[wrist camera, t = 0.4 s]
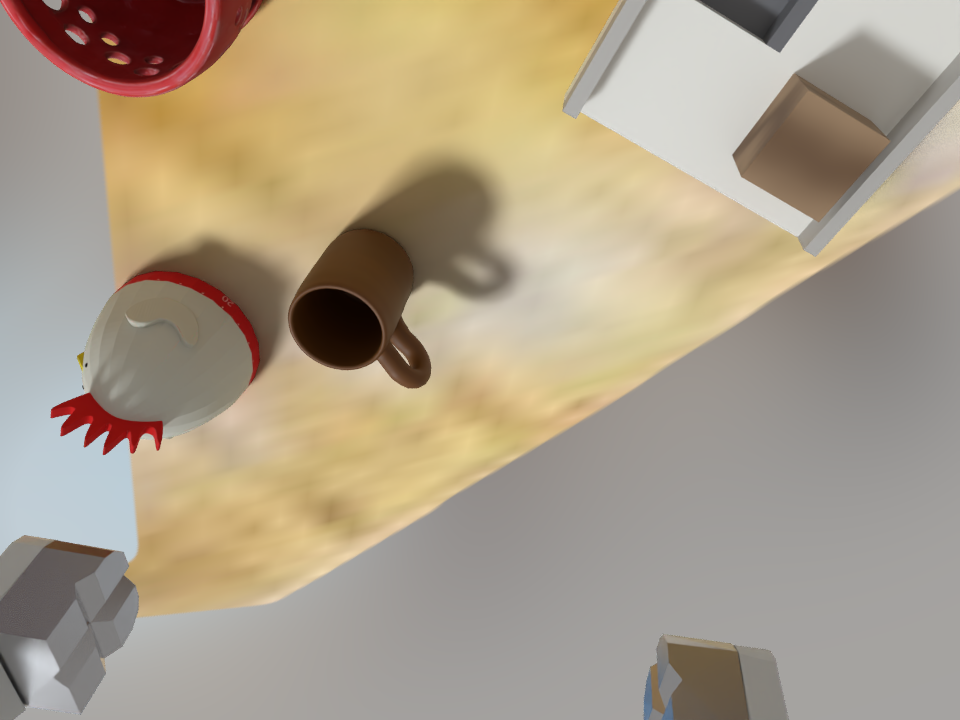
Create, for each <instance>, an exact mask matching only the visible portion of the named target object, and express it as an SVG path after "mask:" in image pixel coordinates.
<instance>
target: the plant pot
mask: <svg viewBox="0 0 960 720" xmlns="http://www.w3.org/2000/svg"><path fill="white" fill-rule="evenodd" d="M61 1H62V4H61V8H60V10H54V9H52V8H50V7H48V6H47V5H46V4H45V3H44V2H43V1H42V0H0V2H1V4H2V6H3V7H4V9H5V10H6V12H7V14H8V15H9V16H10V18H11V20H12V21H13V22H14V24H15V25H16V26H17V28H18V29H19V30H20V31H21V33H22V34H23V35H24V36H25V37H26V39H28V40H29V42H30V43H31V44H32V45H33V46H34V47H35V48H36V49H37V50H38V51H39V52H41V53H42V54H43V55H44V56H45V57H46V58H47V59H49V60H50V61H51V62H52V63H53V64H55V65H56V66H57V67H59V68H60V69H62V70H63V71H64V72H66V73H68V74H69V75H71V76H72V77H74V78H76V79H78V80H80V81H81V82H83V83H85V84H88V85H89V86H92V87H94V88H97V89H99V90H102V91H105V92H108V93H112V94H116V95H120V96H126V97H150V96H156V95H161V94H164V93H168V92H170V91H173V90H175V89H177V88H179V87H181V86H183V85H185V84H186V83H188V82H189V81H191V80H193V79H194V78H196V77H197V76H199V75H200V74H202V73H203V72H204V71H206V70H207V69H208V68H209V67H210V66H212V65H213V64H214V63H215V62H216V61H217V60H218V59H219V58H220V57H221V56H222V55H223V54H224V53H225V51H226V50H227V49H228V48H229V47H230V46H231V44H232V43H233V42H234V40H235V39H236V37H237V36H238V34H239V33H240V31H241V29H242V28H243V27H244V26H245V25H246V24H247V23H248V22H249V21H250V20H251V19H252V18H253V16H254V15H255V14H256V12H257V11H258V9H259V7H260V5H261V3H262V1H263V0H61ZM78 10H80V11H83V12H85V13H87V14H88V15H89V17H90V18H91V19H92V22H93V23H88V22H86V21H85V20H84V19H82V17H81V16H80V14H79V11H78ZM65 30H69V31H71V32H73V33H75V34H76V35H78V36H79V37H80V38H81V39H82V40H83V42H84V43H85V45H83V44H79V43H76V42H75V41H74V40H73V39H72V38H71V37H70V36H69V35H68V34H67V33H66V32H65ZM101 38H107V39H110V40H112V41H113V42H114V43H116V44H117V45H116V46H112V45H109V44H107V43H105V42H104V41H103V40H102V39H101ZM108 58H115V59H119V60H121V61H123V62H125V63H127V64H124V65H122V64H117V63H113V62H111V61H109V60H108Z"/></svg>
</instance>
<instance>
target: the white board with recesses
mask: <svg viewBox="0 0 960 720" xmlns="http://www.w3.org/2000/svg"><path fill="white" fill-rule="evenodd" d="M794 73H795V74H797V75H798V76H800V77H802V78H803V79H805V80H806V81H808V82H810V83H811V84H813V85H814V86H816V87H818V88H819V89H821V90H822V91H824V92H826V93H827V94H829V95H831V96H832V97H834V98H835V99H837V100H839V101H840V102H842V103H843V104H845V105H847V106H848V107H850V108H852V109H853V110H855V111H856V112H858V113H860V114H861V115H863V116H864V117H866V118H868V119H869V120H871V121H872V122H873V123H874V124H875V125H876V126H877V127H878V128H879V129H880V130H881V131H882V133H883V134H884V135H885V136H886V137H887V138H888V139H889V140H890V141H891V142H890V143H889V144H888V145H887V146H886V147H885V148H884V150H883V151H882V152H881V153H880V154H879V155H878V156H877V157H876V159H875V160H874V161H873V162H872V163H871V164H870V165H869V166H868V168H867V169H866V170H865V171H864V172H863V173H862V174H861V175H860V177H859V178H858V179H857V180H856V181H855V182H854V183H853V184H852V186H851V187H850V188H849V189H848V190H847V191H846V192H845V193H844V195H843V196H842V197H841V198H840V199H839V200H838V201H837V203H836V204H835V205H834V206H833V207H832V208H831V209H830V210H829V212H828V213H827V214H826V215H825V216H824V217H823V218H822V219H821V221H820V222H817V221H816V220H814V219H812V218H811V217H809V216H807V215H805V214H804V213H802V212H800V211H799V210H797V209H795V208H793V207H792V206H790V205H788V204H787V203H785V202H783V201H781V200H780V199H778V198H776V197H775V196H773V195H771V194H769V193H768V192H766V191H764V190H763V189H761V188H759V187H757V186H756V185H754V184H752V183H751V182H749V181H747V180H746V179H744V178H742V177H741V176H740V173H739V171H738V168H737V166H736V163H735V161H734V159H733V156H732V154H733V153H734V152H735V150H736V149H737V148H738V146H739V145H740V144H741V142H742V141H743V140H744V138H745V137H746V136H747V134H748V133H749V132H750V130H751V129H752V128H753V127H754V125H755V124H756V123H757V121H758V120H759V119H760V117H761V116H762V115H763V113H764V112H765V111H766V109H767V108H768V107H769V105H770V104H771V103H772V101H773V100H774V99H775V97H776V96H777V95H778V93H779V92H780V91H781V89H782V88H783V87H784V85H785V84H786V83H787V82H788V80H789V79H790V78H791V76H792V75H793V74H794ZM959 99H960V0H619V1H618V3H617V5H616V6H615V8H614V10H613V12H612V13H611V15H610V17H609V19H608V20H607V22H606V24H605V26H604V27H603V29H602V31H601V32H600V34H599V36H598V38H597V39H596V41H595V43H594V45H593V46H592V48H591V50H590V52H589V53H588V55H587V57H586V59H585V60H584V62H583V64H582V66H581V67H580V69H579V71H578V73H577V74H576V76H575V78H574V79H573V81H572V83H571V85H570V86H569V88H568V90H567V92H566V93H565V98H564V104H563V112H565V113H566V114H568V115H570V116H572V117H573V118H575V119H576V118H577V116H578V115H579V113H580V112H581V113H583V114H585V115H587V116H588V117H590V118H592V119H594V120H595V121H597V122H599V123H600V124H602V125H604V126H606V127H607V128H609V129H611V130H613V131H614V132H616V133H618V134H620V135H621V136H623V137H625V138H626V139H628V140H630V141H632V142H633V143H635V144H637V145H639V146H640V147H642V148H644V149H645V150H647V151H649V152H651V153H652V154H654V155H656V156H658V157H659V158H661V159H663V160H665V161H666V162H668V163H670V164H671V165H673V166H675V167H677V168H678V169H680V170H682V171H684V172H685V173H687V174H689V175H691V176H692V177H694V178H696V179H697V180H699V181H701V182H703V183H704V184H706V185H708V186H710V187H711V188H713V189H715V190H717V191H718V192H720V193H722V194H723V195H725V196H727V197H729V198H730V199H732V200H734V201H736V202H737V203H739V204H741V205H742V206H744V207H746V208H748V209H749V210H751V211H753V212H755V213H756V214H758V215H760V216H762V217H763V218H765V219H767V220H768V221H770V222H772V223H774V224H775V225H777V226H779V227H781V228H782V229H784V230H786V231H788V232H789V233H791V234H793V235H794V236H796V237H798V239H799V241H800V243H801V245H802V247H803V250H805V251H806V252H808V253H810V254H812V255H813V256H815V257H816V256H817V255H818V254H819V252H820V251H821V250H822V249H823V248H824V247H825V246H826V245H827V244H828V243H829V242H830V240H831V239H832V238H833V237H834V236H835V235H836V234H837V233H838V232H839V231H840V230H841V228H842V227H843V226H844V225H845V224H846V223H847V222H848V221H849V220H850V219H851V217H852V216H853V215H854V214H855V213H856V212H857V211H858V210H859V209H860V208H861V207H862V205H863V204H864V203H865V202H866V201H867V200H868V199H869V198H870V197H871V196H872V194H873V193H874V192H875V191H876V190H877V189H878V188H879V187H880V186H881V185H882V184H883V182H884V181H885V180H886V179H887V178H888V177H889V176H890V175H891V174H892V173H893V171H894V170H895V169H896V168H897V167H898V166H899V165H900V164H901V163H902V162H903V161H904V159H905V158H906V157H907V156H908V155H909V154H910V153H911V152H912V151H913V150H914V149H915V147H916V146H917V145H918V144H919V143H920V142H921V141H922V140H923V139H924V138H925V136H926V135H927V134H928V133H929V132H930V131H931V130H932V129H933V128H934V127H935V126H936V124H937V123H938V122H939V121H940V120H941V119H942V118H943V117H944V116H945V115H946V113H947V112H948V111H949V110H950V109H951V108H952V107H953V106H954V105H955V104H956V103H957V101H958V100H959Z"/></svg>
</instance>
